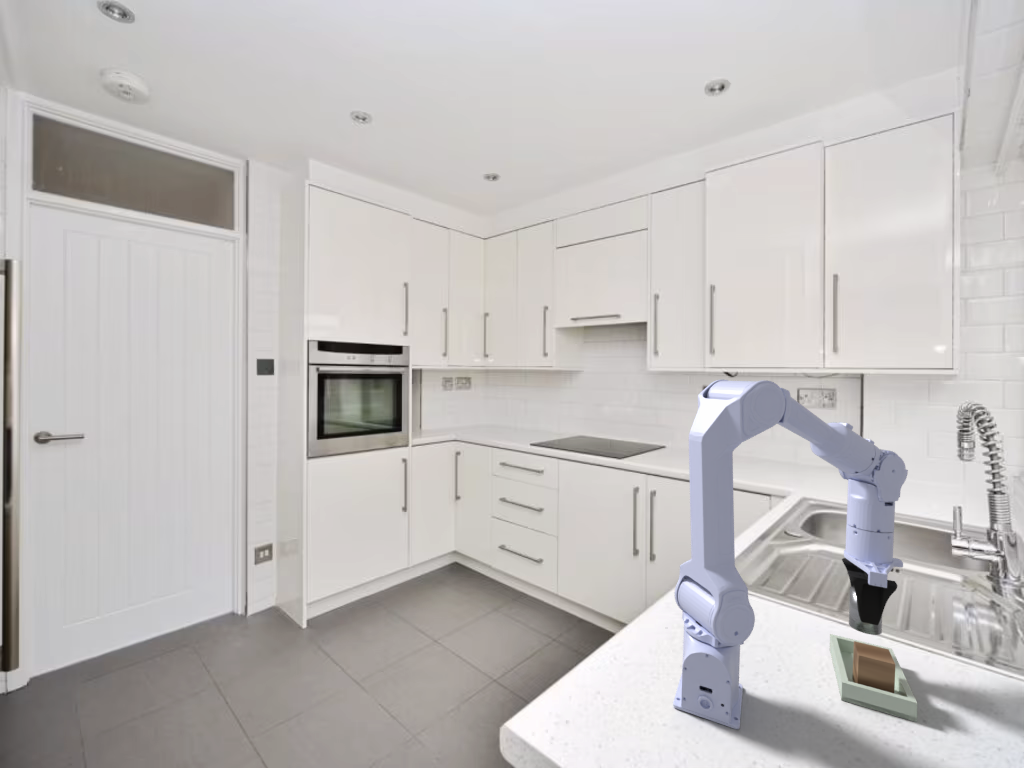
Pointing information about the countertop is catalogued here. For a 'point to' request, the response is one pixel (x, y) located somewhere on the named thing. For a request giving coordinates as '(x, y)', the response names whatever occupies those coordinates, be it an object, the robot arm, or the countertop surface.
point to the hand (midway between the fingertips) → (866, 615)
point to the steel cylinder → (855, 619)
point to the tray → (866, 696)
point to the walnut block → (873, 667)
